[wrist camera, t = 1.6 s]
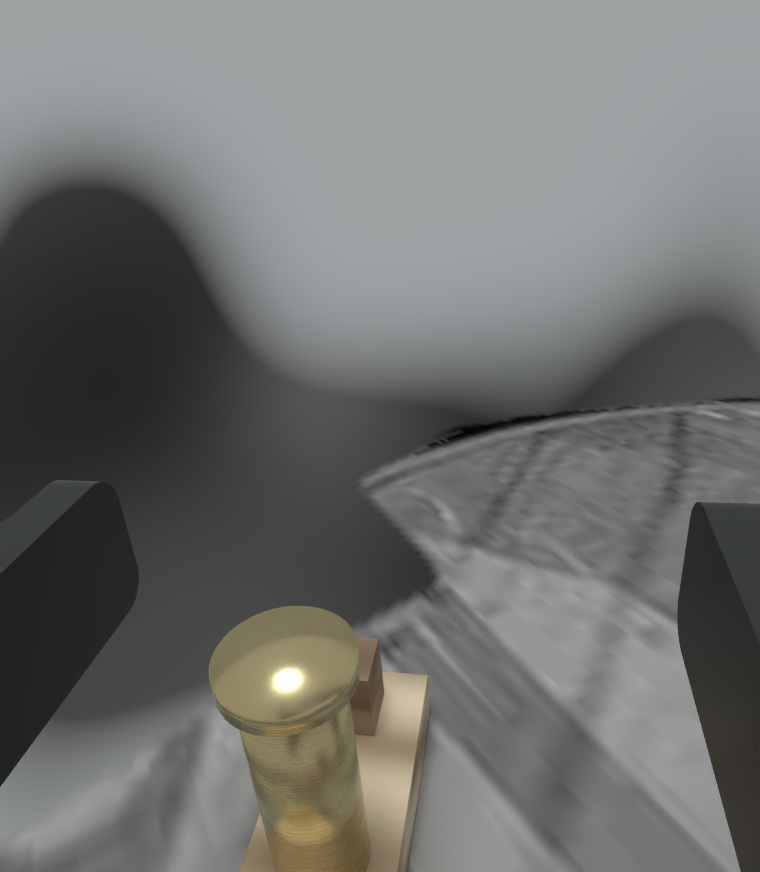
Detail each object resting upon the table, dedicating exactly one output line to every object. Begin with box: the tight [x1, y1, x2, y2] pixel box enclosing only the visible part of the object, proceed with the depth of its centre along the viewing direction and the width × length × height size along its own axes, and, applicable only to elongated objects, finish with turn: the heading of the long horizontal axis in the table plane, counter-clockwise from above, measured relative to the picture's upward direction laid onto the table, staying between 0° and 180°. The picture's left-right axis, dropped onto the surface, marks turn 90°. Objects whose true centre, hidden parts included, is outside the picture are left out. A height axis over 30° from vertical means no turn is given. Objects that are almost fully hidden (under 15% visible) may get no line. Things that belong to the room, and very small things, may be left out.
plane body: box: [240, 637, 430, 872], centre depth 32 cm, size 22×7×7 cm, turn 170°
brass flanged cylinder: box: [209, 606, 371, 872], centre depth 29 cm, size 6×6×12 cm
